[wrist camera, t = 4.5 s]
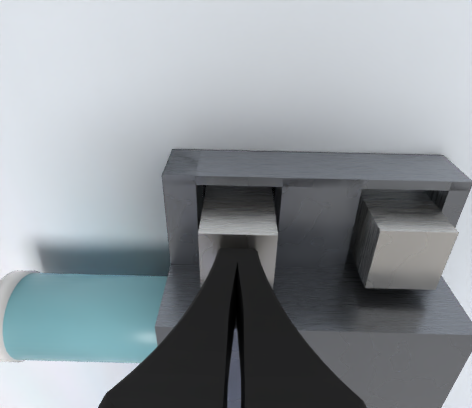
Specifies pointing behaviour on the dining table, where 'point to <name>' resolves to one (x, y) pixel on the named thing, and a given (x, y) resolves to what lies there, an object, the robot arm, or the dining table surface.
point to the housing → (330, 267)
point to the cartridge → (78, 317)
